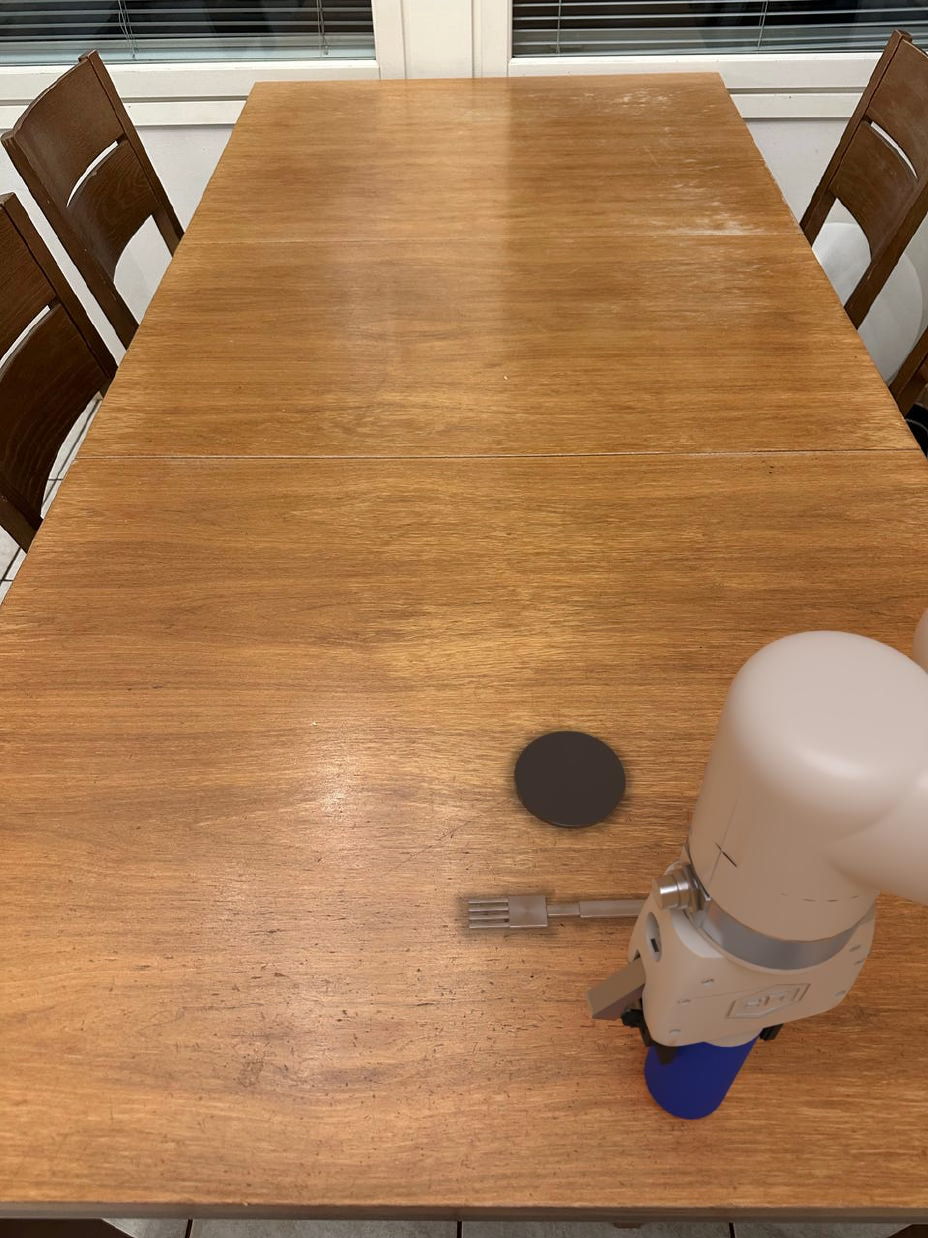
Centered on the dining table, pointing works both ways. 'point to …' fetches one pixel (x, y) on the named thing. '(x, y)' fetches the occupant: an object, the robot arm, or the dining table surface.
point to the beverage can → (697, 1074)
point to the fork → (547, 911)
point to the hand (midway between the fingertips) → (707, 1024)
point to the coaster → (569, 779)
